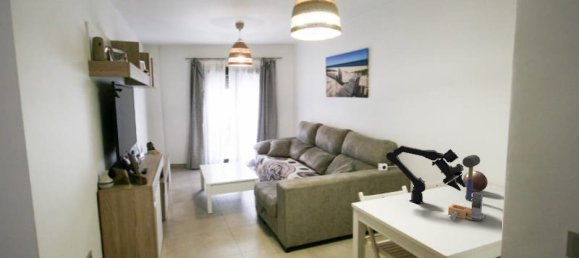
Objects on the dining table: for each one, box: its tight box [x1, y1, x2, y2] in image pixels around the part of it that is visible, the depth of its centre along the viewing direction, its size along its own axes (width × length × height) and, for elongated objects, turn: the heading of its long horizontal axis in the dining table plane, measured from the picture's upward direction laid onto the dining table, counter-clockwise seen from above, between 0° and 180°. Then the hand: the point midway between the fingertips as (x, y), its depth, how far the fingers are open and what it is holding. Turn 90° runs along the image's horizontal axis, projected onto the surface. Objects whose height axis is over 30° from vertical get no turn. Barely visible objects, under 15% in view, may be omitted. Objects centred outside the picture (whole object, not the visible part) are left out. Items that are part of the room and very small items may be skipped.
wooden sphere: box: [462, 170, 489, 193], centre depth 219 cm, size 15×15×15 cm
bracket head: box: [447, 203, 486, 222], centre depth 171 cm, size 17×16×6 cm
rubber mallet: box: [461, 154, 481, 201], centre depth 200 cm, size 12×8×30 cm, turn 130°
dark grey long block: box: [471, 192, 484, 213], centre depth 178 cm, size 4×4×12 cm
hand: (462, 188), depth 182 cm, fingers open, 9 cm apart
